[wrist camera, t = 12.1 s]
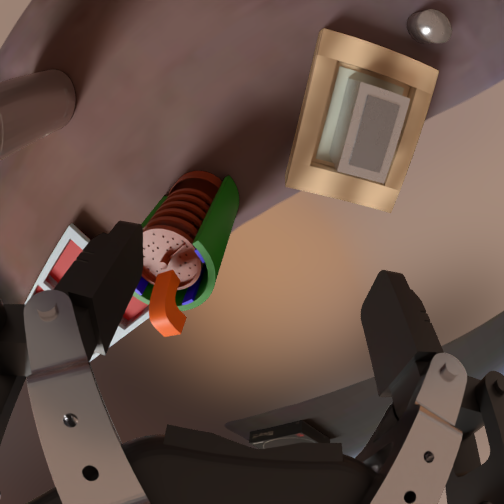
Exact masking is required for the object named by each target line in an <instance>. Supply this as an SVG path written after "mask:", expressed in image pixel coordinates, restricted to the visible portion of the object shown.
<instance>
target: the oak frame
mask: <svg viewBox="0 0 504 504" xmlns="http://www.w3.org/2000/svg"><path fill="white" fill-rule="evenodd" d="M438 72H439V71H438V70H436V69H434V68H432V67H430V66H428V65H426V64H423V63H421V62H419V61H417V60H414V59H412V58H410V57H407V56H405V55H402V54H400V53H397V52H395V51H392V50H390V49H387V48H384V47H382V46H379V45H376V44H373V43H370V42H368V41H365V40H362V39H358V38H355V37H352V36H349V35H346V34H342V33H339V32H335V31H332V30H328V29H325V28H323V29H322V30H321V31H320V32H319V35H318V39H317V44H316V48H315V52H314V57H313V61H312V65H311V70H310V74H309V78H308V82H307V87H306V91H305V95H304V99H303V103H302V108H301V112H300V116H299V120H298V124H297V128H296V133H295V137H294V141H293V145H292V149H291V153H290V157H289V161H288V165H287V169H286V173H285V187H289V188H294V189H298V190H303V191H307V192H312V193H316V194H320V195H324V196H328V197H332V198H336V199H340V200H344V201H348V202H352V203H356V204H360V205H363V206H367V207H371V208H375V209H378V210H382V211H385V212H389V213H391V211H392V209H393V206H394V204H395V202H396V199H397V196H398V194H399V191H400V189H401V186H402V184H403V181H404V178H405V176H406V173H407V170H408V168H409V165H410V162H411V159H412V157H413V154H414V151H415V148H416V145H417V142H418V139H419V136H420V133H421V130H422V127H423V124H424V121H425V118H426V114H427V111H428V108H429V105H430V101H431V98H432V94H433V91H434V87H435V84H436V80H437V76H438ZM348 78H350V79H353V80H357V81H360V82H363V83H366V84H370V85H373V86H376V87H379V88H382V89H385V90H388V91H391V92H393V93H396V94H399V95H402V96H404V97H407V98H410V102H409V106H408V109H407V113H406V116H405V120H404V123H403V127H402V130H401V133H400V136H399V140H398V143H397V146H396V149H395V152H394V156H393V159H392V162H391V165H390V168H389V171H388V174H387V177H386V179H385V182H384V184H383V183H380V182H376V181H372V180H369V179H365V178H361V177H357V176H353V175H350V174H346V173H342V172H338V171H337V170H336V168H335V166H334V163H333V161H332V159H331V157H330V155H329V151H330V148H331V144H332V140H333V136H334V132H335V128H336V124H337V121H338V117H339V113H340V109H341V105H342V100H343V96H344V92H345V88H346V84H347V80H348Z"/></svg>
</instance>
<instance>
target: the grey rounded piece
mask: <svg viewBox="0 0 504 504" xmlns="http://www.w3.org/2000/svg"><path fill="white" fill-rule="evenodd" d="M407 29H408V32H409V34H410V35H411V37H412V38H413V39H415V40H416V41H418V42H420V43H424V44H426V43H444V42H446V41H448V40H449V39H450V37H451V34H452V28H451V24H450V22H449V20H448V18H447V17H446V16H445V15H444V14H443V13H441V12H440V11H437V10H434V9H429V10H425V11H421V12H417V13H414V14H412V15H410V16H409V18H408V20H407Z"/></svg>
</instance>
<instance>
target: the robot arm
mask: <svg viewBox="0 0 504 504" xmlns="http://www.w3.org/2000/svg"><path fill="white" fill-rule="evenodd" d="M75 102H76V97H75V90H74V86H73V84H72V82H71V80H70V79H69V77H68V76H67V75H66V74H65V73H63V72H61V71H60V70H55V69H53V70H46V71H42V72H37V73H32V74H28V75H24V76H20V77H16V78H12V79H9V80H5V81H2V82H0V161H1V160H3V159H4V158H6V157H8V156H10V155H11V154H13V153H15V152H17V151H18V150H20V149H22V148H24V147H26V146H28V145H30V144H31V143H33V142H35V141H37V140H39V139H41V138H43V137H45V136H47V135H49V134H51V133H53V132H55V131H57V130H59V129H61V128H63V127H64V126H65V125H66V124H67V123H68V122H69V120H70V119H71V117H72V115H73V112H74V109H75ZM142 271H143V227H142V225H141V224H136V223H131V222H125V221H119V222H118V223H117V224H116V225H115V226H114V228H113V229H112V230H111V232H110V233H109V234H106V233H102V234H100V235H98V236H97V237H95V238H93V239H92V240H90V241H89V243H88V244H87V245H86V246H85V248H84V249H83V251H82V252H81V253H80V254H79V255H78V257H77V258H76V260H75V261H74V262H73V263H72V265H71V266H70V267H69V269H68V270H67V271H66V273H65V274H64V275H63V277H62V278H61V280H60V281H59V282H58V284H57V285H56V287H55V288H54V289H53V290H45V291H41V292H39V293H37V294H35V295H34V296H32V297H31V298H30V299H29V300H28V302H27V303H26V304H3V303H2V300H1V298H0V444H1V441H2V438H3V435H4V432H5V430H6V427H7V424H8V421H9V419H10V416H11V413H12V411H13V408H14V406H15V403H16V401H17V398H18V395H19V393H20V391H21V389H22V386H23V383H24V381H25V379H26V377H27V386H28V392H29V397H30V401H31V406H32V411H33V415H34V419H35V423H36V426H37V431H38V434H39V438H40V441H41V445H42V448H43V451H44V455H45V458H46V461H47V464H48V467H49V470H50V473H51V475H52V478H53V481H54V483H55V487H54V488H52V489H50V490H49V491H47V492H45V493H44V494H42V495H40V496H39V497H37V498H35V499H33V500H32V501H30V502H28V503H26V504H438V502H439V500H440V498H441V495H442V493H443V490H444V488H445V487H446V495H447V503H448V504H504V376H503V375H502V374H501V373H499V372H496V371H491V372H489V373H488V374H487V375H486V376H485V377H484V378H483V379H482V380H478V379H476V378H473V377H470V376H467V374H466V371H465V368H464V367H463V365H462V364H461V362H460V361H459V360H458V359H456V358H455V357H454V356H452V355H450V354H447V353H444V352H443V349H442V347H441V345H440V342H439V340H438V337H437V335H436V333H435V330H434V328H433V326H432V323H430V319H429V317H428V314H426V310H425V308H424V306H423V303H422V301H421V300H420V299H419V297H418V296H417V295H416V294H415V293H414V292H413V290H411V289H410V288H409V285H408V284H407V281H406V279H405V277H404V275H403V274H401V273H397V272H391V271H386V270H382V271H380V272H379V274H378V275H377V277H376V279H375V281H374V283H373V285H372V287H371V289H370V291H369V293H368V295H367V297H366V299H365V301H364V303H363V305H362V309H361V321H362V325H363V329H364V333H365V337H366V341H367V345H368V350H369V354H370V358H371V362H372V367H373V371H374V376H375V380H376V385H377V390H378V395H379V397H392V399H393V402H392V403H391V404H390V405H389V407H388V408H387V410H386V412H385V414H384V416H383V417H382V419H381V421H380V423H379V424H378V426H377V428H376V430H375V431H374V433H373V435H372V436H371V438H370V440H369V441H368V443H367V444H366V446H365V447H364V449H363V450H362V451H361V452H360V453H359V454H358V455H357V456H356V457H355V458H353V457H350V456H347V455H345V454H342V443H306V442H301V443H296V444H290V445H285V446H279V447H272V448H266V449H254V448H251V447H248V446H245V445H242V444H239V443H237V442H234V441H231V440H228V439H226V438H223V437H221V436H218V435H216V434H213V433H209V432H203V431H198V430H192V429H187V428H182V427H177V426H172V425H167V428H166V433H165V435H150V436H144V437H140V438H136V439H133V440H130V441H127V442H126V443H123V444H122V443H121V441H120V439H119V436H118V434H117V432H116V430H115V428H114V425H113V423H112V421H111V419H110V416H109V414H108V411H107V409H106V406H105V404H104V401H103V399H102V396H101V393H100V391H99V388H98V385H97V382H96V380H95V377H94V374H93V371H92V368H91V365H90V360H91V357H92V355H93V353H94V352H95V353H99V354H102V355H106V353H107V351H108V348H109V346H110V344H111V341H112V339H113V337H114V335H115V332H116V330H117V328H118V326H119V324H120V321H121V319H122V317H123V315H124V313H125V311H126V308H127V306H128V304H129V302H130V300H131V298H132V296H133V294H134V292H135V290H136V288H137V286H138V284H139V281H140V279H141V276H142ZM484 425H485V429H486V433H487V437H488V441H489V445H490V456H489V458H488V460H487V461H486V462H485V463H484V464H482V465H481V463H480V458H479V453H478V449H477V444H476V440H475V436H474V433H475V432H476V431H478V430H479V429H480V428H482V427H483V426H484ZM0 498H1V493H0Z"/></svg>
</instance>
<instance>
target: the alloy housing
mask: <svg viewBox="0 0 504 504" xmlns="http://www.w3.org/2000/svg"><path fill="white" fill-rule="evenodd" d="M409 102H410V98H407V97H404V96H402V95H399V94H396V93H393V92H391V91H388V90H385V89H382V88H379V87H376V86H373V85H370V84H366V83H363V82H360V81H357V80H353V79H350V78H348V80H347V84H346V88H345V92H344V96H343V100H342V105H341V109H340V113H339V117H338V121H337V124H336V128H335V132H334V136H333V140H332V144H331V148H330V151H329V155H330V157H331V159H332V161H333V163H334V166H335V168H336V170H337V171H338V172H342V173H346V174H350V175H353V176H357V177H361V178H365V179H369V180H372V181H376V182H380V183H383V184H384V182H385V179H386V177H387V174H388V171H389V168H390V165H391V162H392V159H393V156H394V152H395V149H396V146H397V143H398V140H399V136H400V133H401V130H402V127H403V123H404V120H405V116H406V113H407V109H408V106H409Z"/></svg>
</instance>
